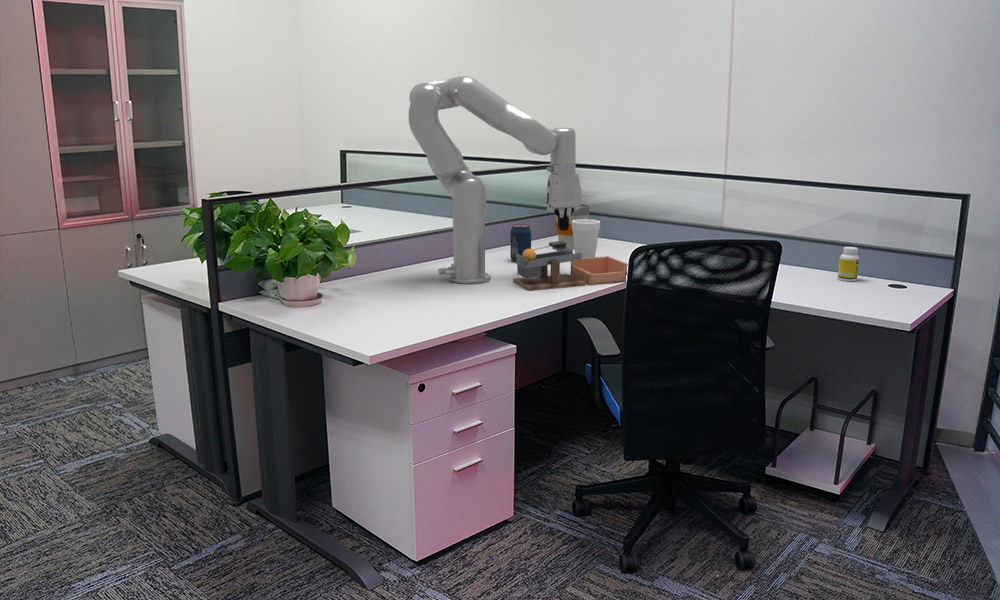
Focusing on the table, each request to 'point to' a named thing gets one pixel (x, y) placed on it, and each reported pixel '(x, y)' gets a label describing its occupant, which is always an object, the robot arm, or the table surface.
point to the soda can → (519, 240)
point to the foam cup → (585, 236)
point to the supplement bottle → (848, 264)
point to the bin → (599, 270)
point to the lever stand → (549, 279)
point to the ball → (529, 254)
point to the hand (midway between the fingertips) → (563, 229)
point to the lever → (545, 259)
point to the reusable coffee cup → (568, 234)
